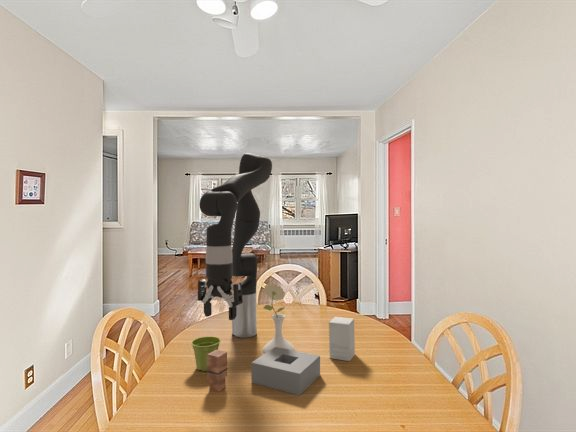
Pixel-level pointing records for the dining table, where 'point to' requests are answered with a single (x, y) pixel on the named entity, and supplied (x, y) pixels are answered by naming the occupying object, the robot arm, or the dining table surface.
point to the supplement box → (341, 338)
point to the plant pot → (204, 350)
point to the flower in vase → (276, 319)
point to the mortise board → (286, 370)
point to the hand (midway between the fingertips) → (219, 317)
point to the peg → (217, 369)
